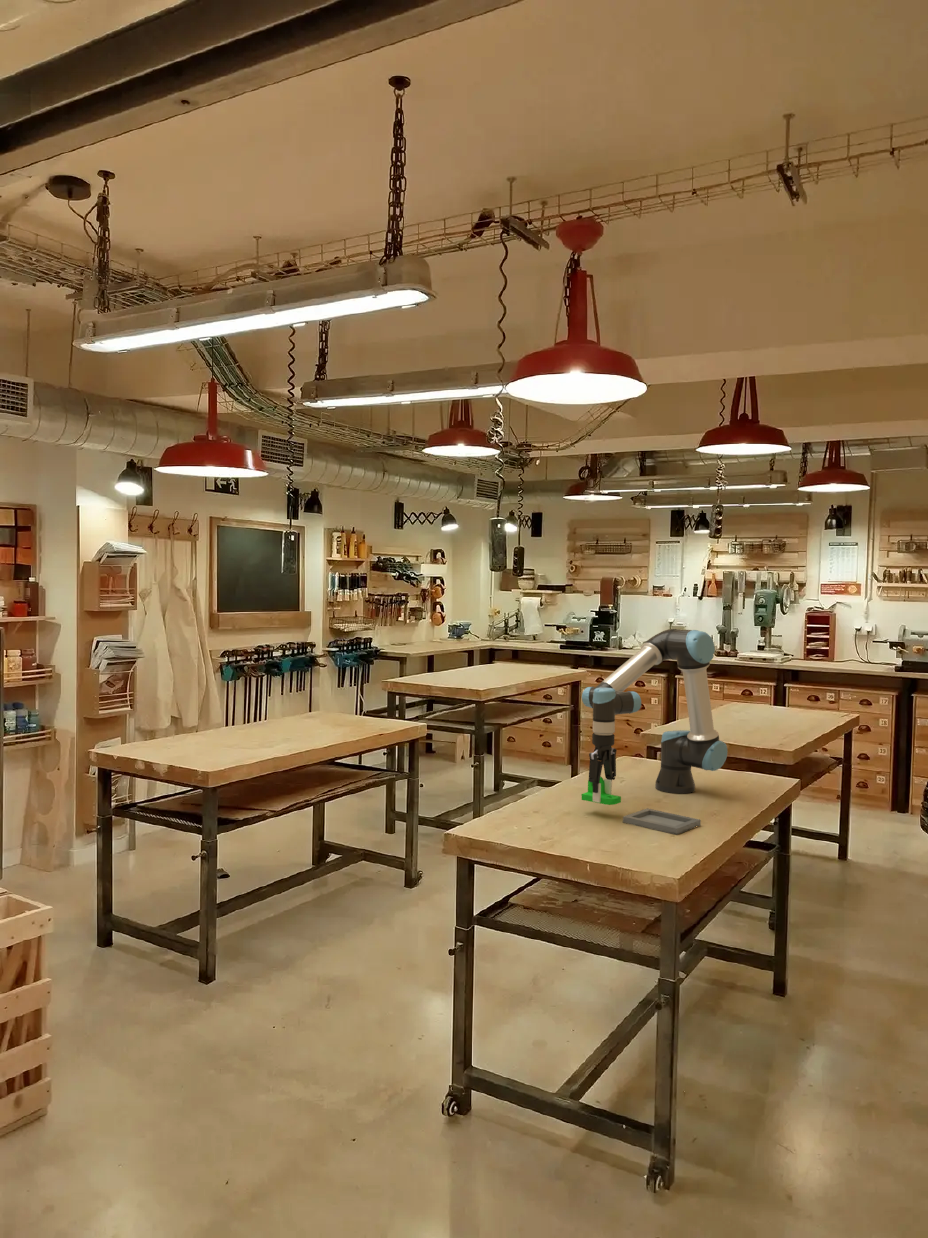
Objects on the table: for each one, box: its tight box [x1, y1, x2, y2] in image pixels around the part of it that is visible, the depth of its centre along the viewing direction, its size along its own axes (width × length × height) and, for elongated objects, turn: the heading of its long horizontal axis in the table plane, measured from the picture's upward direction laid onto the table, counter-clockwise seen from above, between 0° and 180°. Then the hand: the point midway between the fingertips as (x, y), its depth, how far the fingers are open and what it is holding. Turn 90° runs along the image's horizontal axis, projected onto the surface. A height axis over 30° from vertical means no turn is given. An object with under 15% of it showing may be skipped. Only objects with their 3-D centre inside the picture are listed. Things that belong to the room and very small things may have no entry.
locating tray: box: [622, 807, 702, 836], centre depth 292 cm, size 16×20×2 cm
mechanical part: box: [581, 775, 622, 806], centre depth 301 cm, size 12×6×8 cm, turn 50°
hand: (602, 799), depth 301 cm, fingers closed on mechanical part, 6 cm apart
